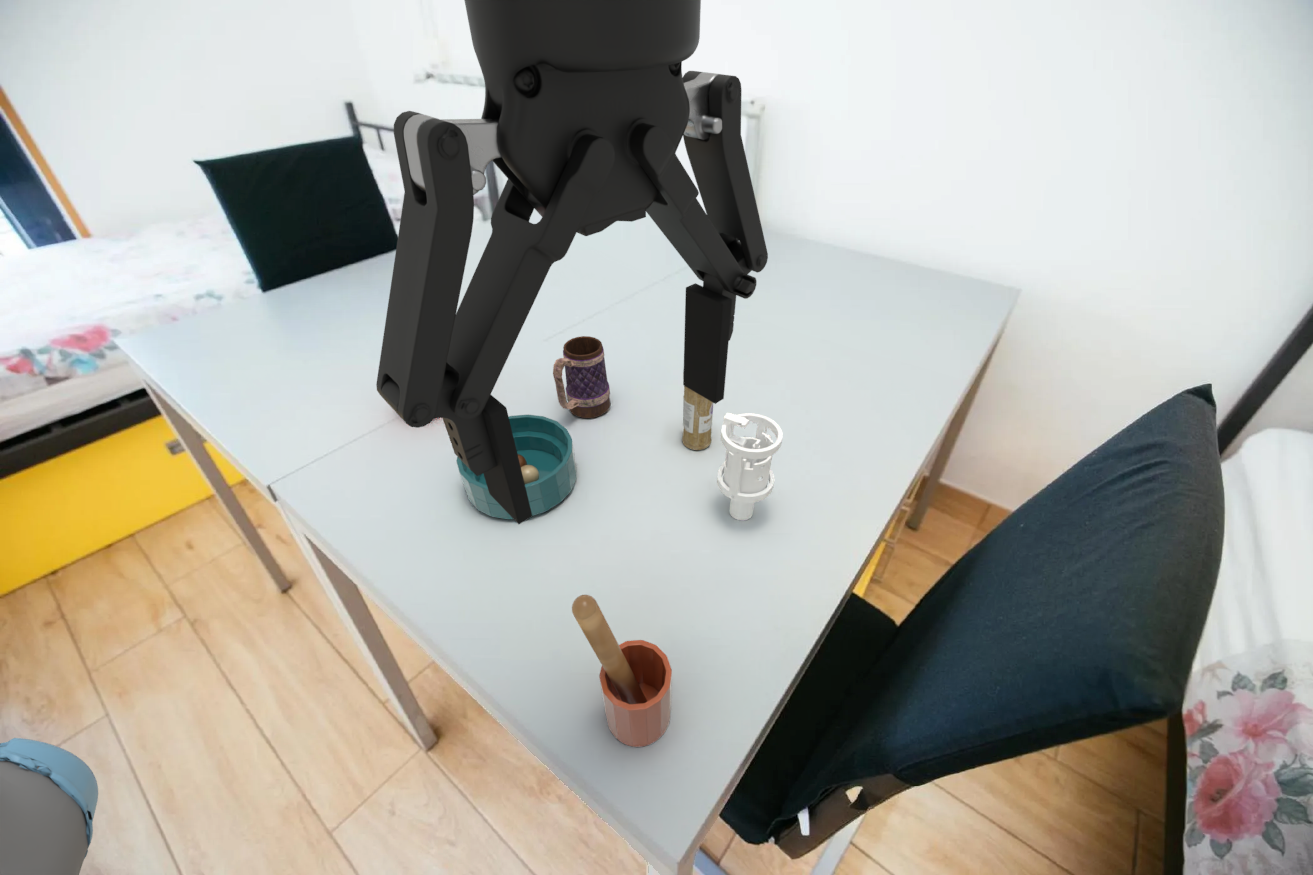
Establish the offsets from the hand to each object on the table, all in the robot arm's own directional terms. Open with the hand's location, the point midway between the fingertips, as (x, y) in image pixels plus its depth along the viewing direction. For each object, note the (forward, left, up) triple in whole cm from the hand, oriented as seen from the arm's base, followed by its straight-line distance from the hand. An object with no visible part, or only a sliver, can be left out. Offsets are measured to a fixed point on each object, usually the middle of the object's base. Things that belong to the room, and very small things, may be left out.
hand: (618, 442), depth 30 cm
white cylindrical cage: (+27, +10, -35) cm, 45 cm away
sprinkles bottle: (+33, +24, -35) cm, 54 cm away
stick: (0, 0, -34) cm, 34 cm away
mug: (+25, +42, -35) cm, 60 cm away
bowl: (+9, +35, -35) cm, 50 cm away
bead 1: (+9, +36, -33) cm, 50 cm away
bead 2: (+9, +33, -33) cm, 48 cm away
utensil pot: (0, 0, -35) cm, 35 cm away
